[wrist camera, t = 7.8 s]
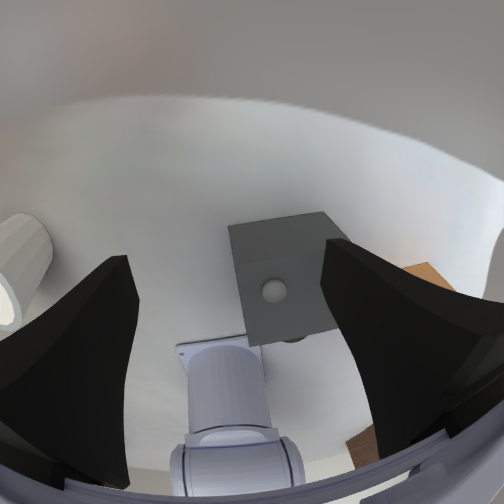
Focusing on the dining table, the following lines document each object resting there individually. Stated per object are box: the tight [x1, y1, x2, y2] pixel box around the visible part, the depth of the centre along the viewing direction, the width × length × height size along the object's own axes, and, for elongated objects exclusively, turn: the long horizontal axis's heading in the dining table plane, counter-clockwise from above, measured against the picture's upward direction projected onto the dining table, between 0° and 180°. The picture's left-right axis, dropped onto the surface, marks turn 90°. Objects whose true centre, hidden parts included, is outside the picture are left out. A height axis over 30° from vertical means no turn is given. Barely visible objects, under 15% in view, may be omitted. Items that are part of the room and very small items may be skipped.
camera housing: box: [228, 212, 351, 347], centre depth 19 cm, size 8×7×6 cm
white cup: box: [0, 213, 53, 332], centre depth 14 cm, size 7×7×7 cm
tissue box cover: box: [346, 424, 380, 470], centre depth 50 cm, size 26×14×10 cm, turn 58°
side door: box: [403, 262, 456, 292], centre depth 22 cm, size 12×1×5 cm, turn 96°
